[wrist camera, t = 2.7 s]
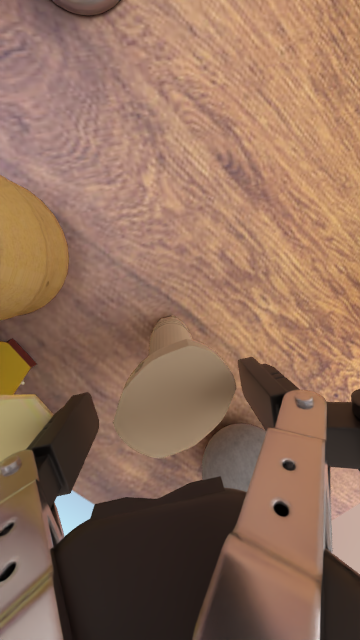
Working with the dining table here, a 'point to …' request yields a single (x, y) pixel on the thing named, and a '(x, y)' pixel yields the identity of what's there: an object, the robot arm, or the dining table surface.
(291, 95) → the dining table surface
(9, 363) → the banana peel
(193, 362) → the handle
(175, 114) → the dining table surface
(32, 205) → the pot
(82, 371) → the dining table surface
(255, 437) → the decorative ball
